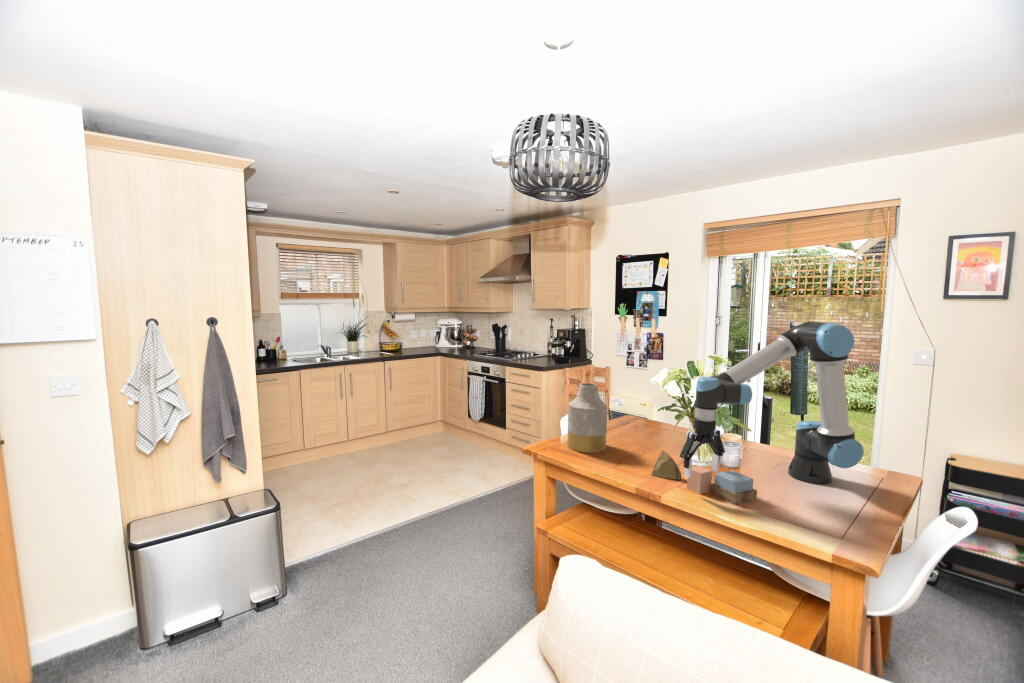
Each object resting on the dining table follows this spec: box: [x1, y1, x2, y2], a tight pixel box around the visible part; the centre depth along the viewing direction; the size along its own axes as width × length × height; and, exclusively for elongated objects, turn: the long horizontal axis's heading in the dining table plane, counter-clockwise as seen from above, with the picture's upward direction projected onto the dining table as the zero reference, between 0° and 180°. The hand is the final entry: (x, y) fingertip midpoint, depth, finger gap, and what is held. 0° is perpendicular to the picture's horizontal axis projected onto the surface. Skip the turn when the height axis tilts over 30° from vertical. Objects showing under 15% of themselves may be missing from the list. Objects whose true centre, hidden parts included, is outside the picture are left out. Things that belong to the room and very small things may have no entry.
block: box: [686, 465, 713, 495], centre depth 176 cm, size 6×6×8 cm
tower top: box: [714, 470, 754, 494], centre depth 171 cm, size 9×9×4 cm
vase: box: [567, 382, 608, 454], centre depth 223 cm, size 18×18×30 cm
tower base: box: [709, 482, 758, 506], centre depth 171 cm, size 11×11×4 cm
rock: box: [650, 450, 682, 480], centre depth 188 cm, size 11×9×10 cm
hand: (701, 473), depth 175 cm, fingers open, 13 cm apart
